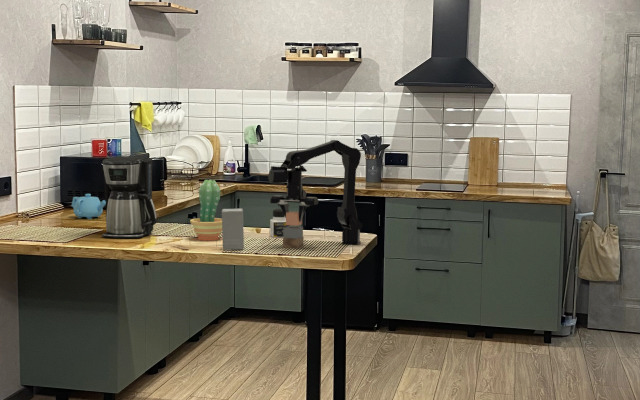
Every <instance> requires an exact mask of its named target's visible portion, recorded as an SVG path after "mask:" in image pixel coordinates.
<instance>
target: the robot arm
mask: <svg viewBox="0 0 640 400" xmlns="http://www.w3.org/2000/svg"><path fill="white" fill-rule="evenodd" d="M331 152H335V153H336V154H338V155H339V156H341V162H342V165H343V168H344V173H343V174H344V175H343V176H344V178H343V194H342V196H343V197H342V204H341V206H340V207H337V215H336V217H337V220H338V222H339V223H340V224H341V227H342V228H343V231H342V233H341V236H342V237H341V243H342V244H346V245H359V244H360V243H362V241H361V231H362V228H363V225H364V224H363V223H362V222H361V221H360V220H359V219H358V212H357V208H356V205H355V196H356V194H355V193H356V177H357V169H358V167H359V166H360V162H361V156H362V153H361V151H360V150H359V149H358V148H355V147H351V146H349V145H347V144H345V143H343V142H341V141H340V140H338V139H331V140H330V141H327V142H325V143H322V144H318V145H316V146H312V147H310V148H308V149H300V150H291V151H289V152H287V153H286V156H285V159H284V160H283V162H282V164H281V165H280V166H274V165H271V166H270V169H269V172H268V175H267V176H268V182H269V183H270V184H285V183H287V184H286V186H285V187H286V191H287V192H286V193H287V194H286V196H284V195H280V194H276V195H272V196H271V197H270V198H269V201H270V204H277V206H278V207H280V209H282V211H283V213H284V215H285V218H286V213H287V212H290V211H289V210H290V209H289V207H290V203H295V204H298V203H299V204H300V205H298V212H299V222H301V220H302V221H303V217H304V214H305V211H306V209H307V208H308V207H310V206H315V205H316V206H317V205H319V198H318V197H317V196H307V190H305V189H304V188H303V182H302V181H303V179H302V178H303V176H302V175H303V173H305V172H307V171H308V169H306V168H305V167H304V165H305V164H306V163H307V162H309V160H311V159H315V158H317V157H320V156H323V155H326V154H328V153H331Z"/></svg>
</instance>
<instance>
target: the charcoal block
mask: <svg viewBox="0 0 640 400" xmlns="http://www.w3.org/2000/svg"><path fill="white" fill-rule="evenodd" d="M301 237H304V227H303V226H293V225H290V226H288V227H285V228H284V238H292V239H299V238H301Z"/></svg>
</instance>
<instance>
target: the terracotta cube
mask: <svg viewBox="0 0 640 400" xmlns="http://www.w3.org/2000/svg"><path fill="white" fill-rule="evenodd" d="M286 225H290V226H294V227H299V226H301V225H303V219H302V220H301V222H299V211H293V210H292V211H291V210H290V211H289V212H287V213H286Z"/></svg>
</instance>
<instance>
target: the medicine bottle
mask: <svg viewBox="0 0 640 400" xmlns="http://www.w3.org/2000/svg"><path fill="white" fill-rule="evenodd" d="M269 222H270V223H269V224H270V225H269V229H270V230H269V236H270V237H272V238H273V239H274V238H275V239H278V238H280V239H283V238H284V228H285V227H288V226H291V225H286V218H285V215H284V213H283V211H282V209H281V208H275V209H273V210H272V219H270V220H269Z"/></svg>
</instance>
